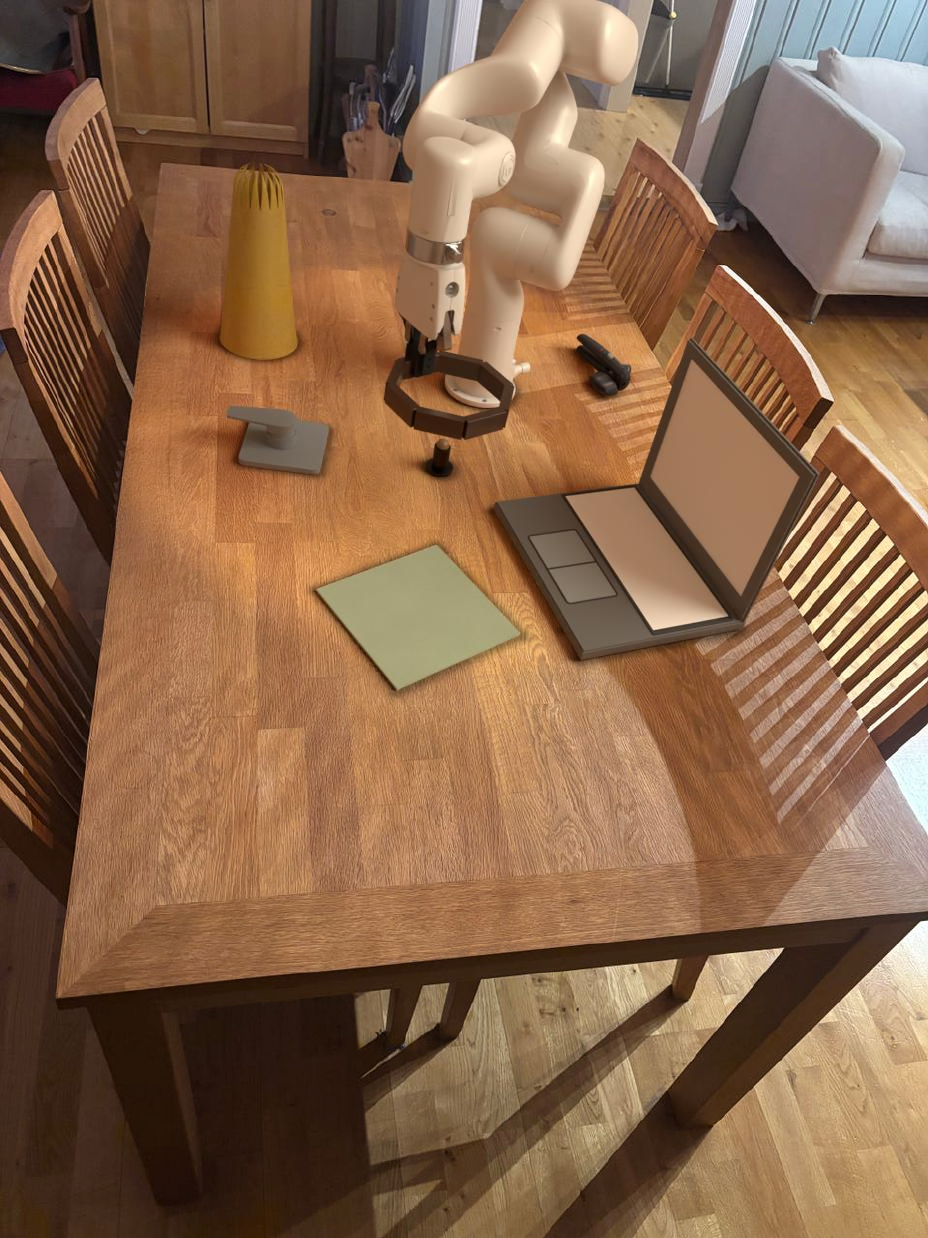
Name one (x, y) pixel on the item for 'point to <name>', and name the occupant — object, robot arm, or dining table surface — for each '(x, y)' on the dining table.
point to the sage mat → (417, 615)
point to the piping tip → (258, 271)
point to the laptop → (670, 524)
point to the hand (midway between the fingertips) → (418, 370)
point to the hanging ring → (446, 421)
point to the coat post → (440, 460)
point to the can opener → (603, 367)
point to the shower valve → (280, 440)
